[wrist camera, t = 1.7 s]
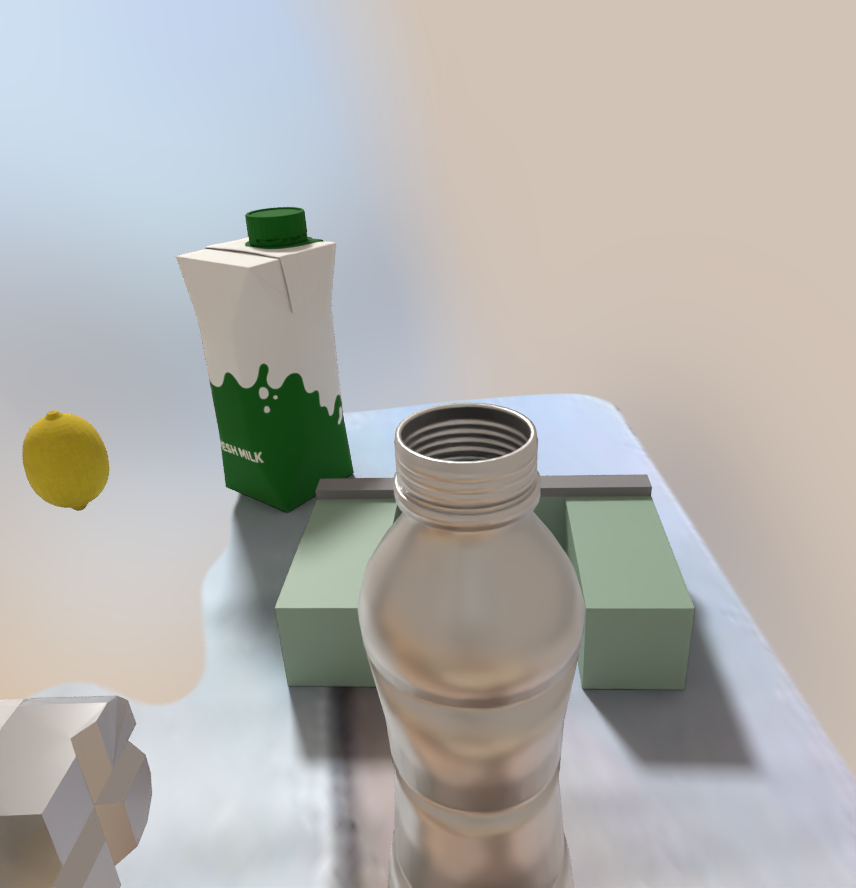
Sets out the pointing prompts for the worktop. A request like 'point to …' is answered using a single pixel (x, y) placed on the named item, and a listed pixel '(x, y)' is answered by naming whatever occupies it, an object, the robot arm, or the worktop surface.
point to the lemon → (65, 460)
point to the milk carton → (272, 357)
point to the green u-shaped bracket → (577, 531)
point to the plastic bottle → (472, 654)
